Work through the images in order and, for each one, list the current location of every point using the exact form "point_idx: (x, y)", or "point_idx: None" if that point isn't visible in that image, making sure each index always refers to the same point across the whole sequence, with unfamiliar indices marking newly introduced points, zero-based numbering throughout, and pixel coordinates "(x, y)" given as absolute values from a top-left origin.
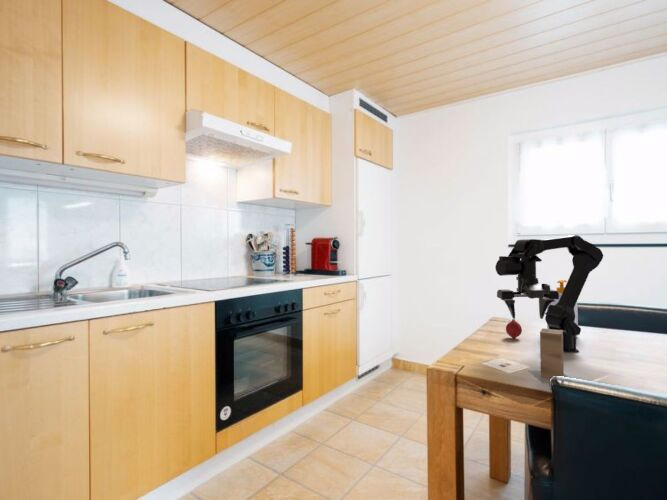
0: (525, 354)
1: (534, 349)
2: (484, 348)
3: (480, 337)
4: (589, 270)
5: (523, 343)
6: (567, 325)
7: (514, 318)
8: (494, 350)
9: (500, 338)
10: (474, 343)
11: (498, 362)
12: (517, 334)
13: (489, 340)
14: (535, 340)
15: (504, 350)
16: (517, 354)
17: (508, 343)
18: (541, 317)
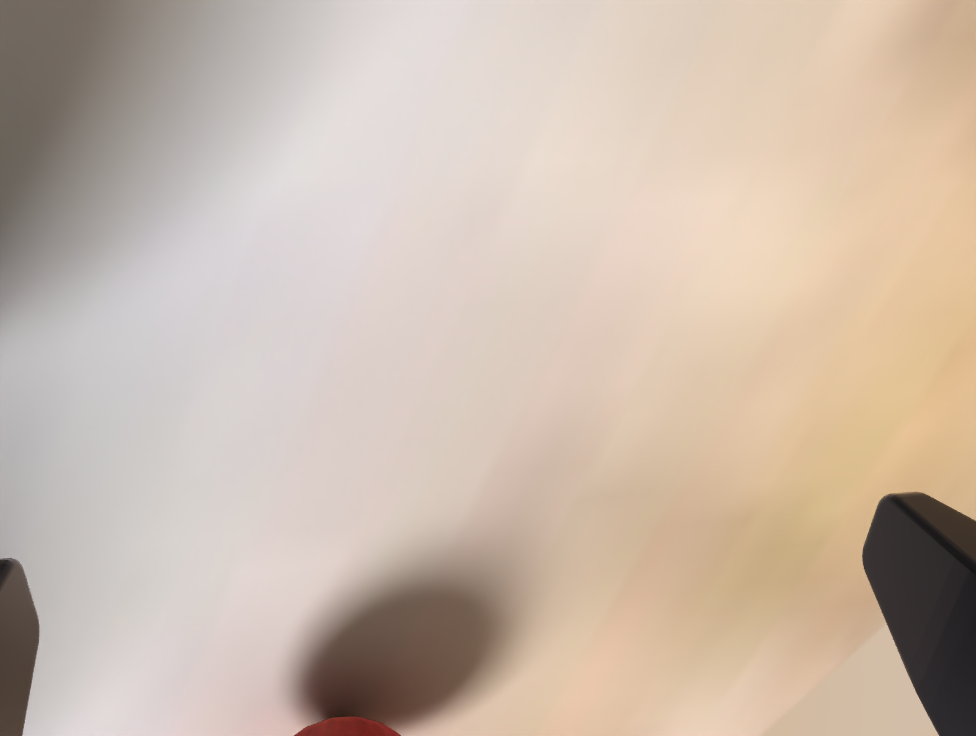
0: (488, 49)
1: (240, 317)
2: (921, 306)
3: (714, 704)
4: None
5: (295, 560)
6: None
7: (900, 494)
8: (844, 227)
9: (502, 702)
10: None
11: None
12: (323, 732)
13: (671, 619)
14: (85, 690)
15: (706, 237)
16: (615, 43)
17: (496, 538)
18: (4, 585)
